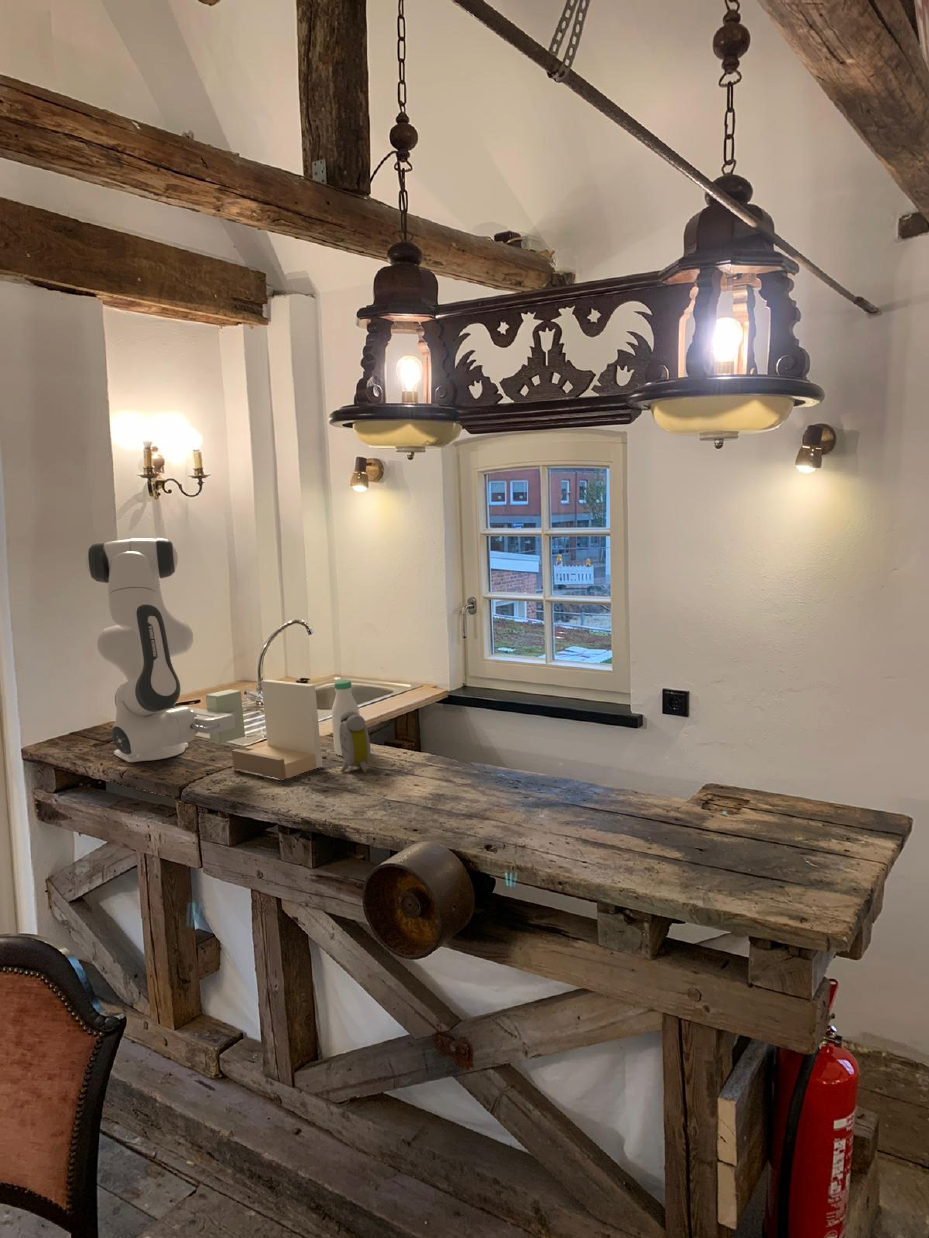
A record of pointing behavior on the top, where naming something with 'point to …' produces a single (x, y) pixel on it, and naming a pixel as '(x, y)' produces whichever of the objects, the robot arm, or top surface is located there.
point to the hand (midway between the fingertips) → (228, 712)
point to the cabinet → (225, 704)
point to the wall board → (285, 732)
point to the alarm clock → (354, 740)
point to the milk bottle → (341, 710)
